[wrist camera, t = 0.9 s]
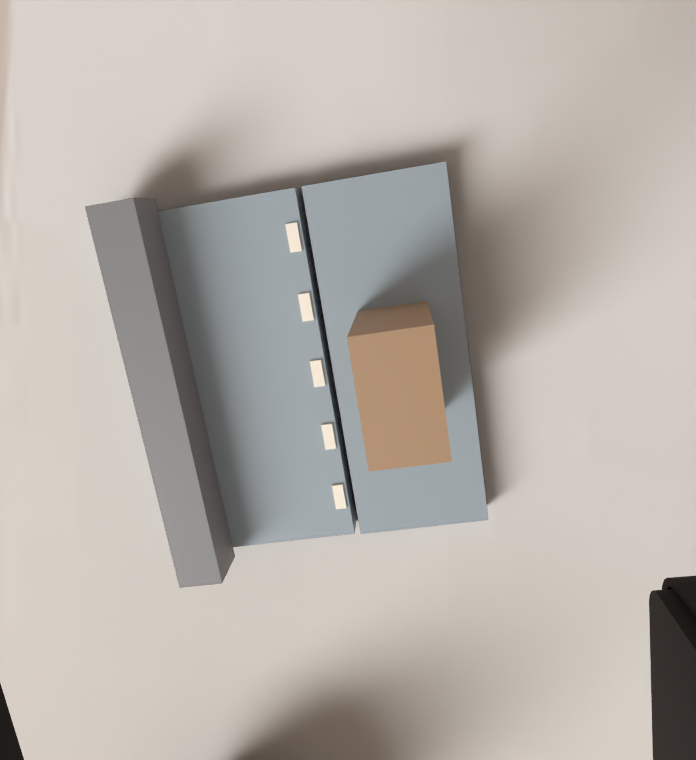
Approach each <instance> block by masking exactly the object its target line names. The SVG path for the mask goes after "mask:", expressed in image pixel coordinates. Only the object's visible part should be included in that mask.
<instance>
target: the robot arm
mask: <svg viewBox="0 0 696 760" xmlns="http://www.w3.org/2000/svg"><path fill="white" fill-rule="evenodd" d="M649 611H650V653H651V694H652V735H653V760H696V576H687V577H674V578H666V579H665V580H664V582H663V585H662V590H656V591H652V592H651V593H650V598H649ZM0 760H24V758H23V755H22V752H21V749H20V745H19V742H18V739H17V736H16V733H15V729H14V726H13V723H12V720H11V716H10V713H9V710H8V707H7V704H6V700H5V697H4V694H3V691H2V687H1V684H0Z"/></svg>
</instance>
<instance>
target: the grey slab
mask: <svg viewBox="0 0 696 760" xmlns="http://www.w3.org/2000/svg"><path fill="white" fill-rule="evenodd" d="M302 192H303V198H304V204H305V210H306V216H307V222H308V228H309V233H310V239H311V245H312V251H313V257H314V263H315V269H316V275H317V280H318V286H319V292H320V298H321V304H322V310H323V316H324V322H325V327H326V333H327V339H328V345H329V351H330V357H331V363H332V369H333V374H334V380H335V386H336V392H337V398H338V404H339V410H340V416H341V421H342V427H343V433H344V439H345V445H346V451H347V457H348V463H349V468H350V474H351V480H352V486H353V492H354V498H355V504H356V510H357V515H358V521H359V527H360V533H361V534H365V533H374V532H383V531H392V530H401V529H410V528H419V527H429V526H438V525H447V524H456V523H465V522H474V521H483V520H488V512H487V503H486V495H485V487H484V478H483V470H482V461H481V453H480V444H479V436H478V427H477V419H476V410H475V402H474V393H473V385H472V376H471V368H470V359H469V351H468V342H467V334H466V326H465V317H464V309H463V300H462V292H461V283H460V275H459V266H458V258H457V249H456V241H455V232H454V224H453V215H452V207H451V198H450V190H449V182H448V173H447V165H446V161H445V162H440V163H434V164H428V165H422V166H416V167H411V168H405V169H399V170H393V171H387V172H382V173H376V174H370V175H364V176H358V177H352V178H347V179H341V180H335V181H329V182H323V183H318V184H312V185H306V186H302Z"/></svg>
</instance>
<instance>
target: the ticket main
mask: <svg viewBox="0 0 696 760" xmlns="http://www.w3.org/2000/svg"><path fill="white" fill-rule="evenodd" d="M85 209H86V213H87V217H88V221H89V225H90V229H91V233H92V237H93V241H94V245H95V249H96V253H97V257H98V261H99V265H100V269H101V273H102V277H103V281H104V285H105V289H106V293H107V297H108V301H109V305H110V309H111V313H112V317H113V321H114V325H115V329H116V333H117V337H118V341H119V345H120V349H121V353H122V357H123V362H124V366H125V370H126V374H127V378H128V382H129V386H130V390H131V394H132V398H133V402H134V406H135V410H136V414H137V418H138V422H139V426H140V430H141V434H142V438H143V442H144V446H145V450H146V454H147V458H148V462H149V466H150V470H151V474H152V478H153V482H154V486H155V490H156V494H157V498H158V502H159V506H160V510H161V514H162V518H163V522H164V527H165V531H166V535H167V539H168V543H169V547H170V551H171V555H172V559H173V563H174V567H175V571H176V575H177V579H178V583H179V587H180V588H182V587H192V586H202V585H211V584H221V583H222V582H223V580H224V578H225V576H226V574H227V572H228V570H229V568H230V565H231V563H232V561H233V559H234V557H235V554H234V550H233V547H237V546H247V545H256V544H265V543H274V542H283V541H292V540H301V539H310V538H319V537H328V536H338V535H347V534H355V527H356V518H355V512H354V507H353V501H352V495H351V489H350V483H349V477H348V471H347V466H346V460H345V454H344V448H343V442H342V436H341V431H340V425H339V419H338V413H337V407H336V401H335V396H334V390H333V384H332V378H331V372H330V366H329V360H328V355H327V349H326V343H325V337H324V331H323V325H322V320H321V314H320V308H319V302H318V296H317V290H316V285H315V279H314V273H313V267H312V261H311V255H310V249H309V244H308V238H307V232H306V226H305V220H304V214H303V209H302V203H301V197H300V191H299V188H289V189H284V190H278V191H272V192H266V193H260V194H255V195H249V196H243V197H237V198H231V199H226V200H220V201H214V202H208V203H202V204H197V205H191V206H185V207H179V208H173V209H168V210H162V211H158V209H157V204H156V200H155V199H142V198H131V199H125V200H119V201H114V202H108V203H102V204H97V205H91V206H85Z"/></svg>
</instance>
